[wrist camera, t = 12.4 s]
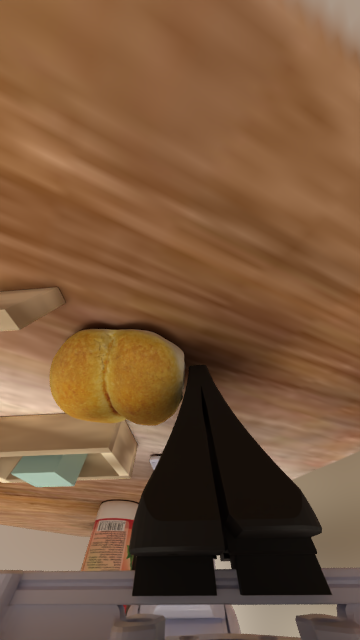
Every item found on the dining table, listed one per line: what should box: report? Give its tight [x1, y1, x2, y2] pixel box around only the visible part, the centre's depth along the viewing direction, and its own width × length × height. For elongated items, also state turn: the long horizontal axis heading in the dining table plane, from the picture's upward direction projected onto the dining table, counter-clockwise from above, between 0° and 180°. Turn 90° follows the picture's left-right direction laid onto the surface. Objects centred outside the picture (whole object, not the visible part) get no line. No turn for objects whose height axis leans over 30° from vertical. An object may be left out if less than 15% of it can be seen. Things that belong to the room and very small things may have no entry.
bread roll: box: [50, 329, 185, 425], centre depth 10 cm, size 8×9×4 cm
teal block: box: [11, 454, 88, 487], centre depth 16 cm, size 4×4×4 cm
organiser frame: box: [0, 287, 138, 483], centre depth 13 cm, size 21×15×3 cm
